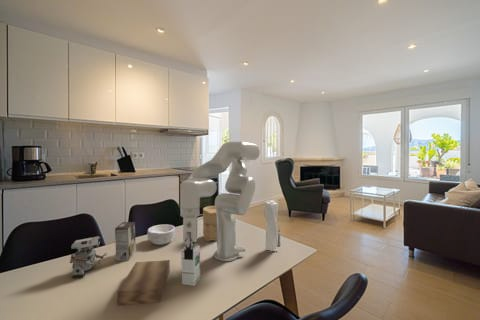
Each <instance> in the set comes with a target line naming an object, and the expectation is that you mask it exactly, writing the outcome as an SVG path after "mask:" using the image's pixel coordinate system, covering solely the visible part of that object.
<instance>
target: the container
mask: <svg viewBox="0 0 480 320" xmlns="http://www.w3.org/2000/svg"><path fill="white" fill-rule="evenodd" d="M202 213H203V214H202V223H203V224H202V227H203V229H202V234H203V239H204V241H206V242H210V241H215V242H217V214H216V208H215V205H207V206H205V207H203V208H202Z"/></svg>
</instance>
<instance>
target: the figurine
mask: <svg viewBox="0 0 480 320" xmlns="http://www.w3.org/2000/svg"><path fill="white" fill-rule="evenodd" d="M100 243H101V237H100V236H98V235H96V236H94V237H93V236H92V237H88V238H83V239H76V240H74V241H73V243H72V244H71V247H70V248H71V250H73V249H76V250H77V251H76V252H74V253H72V254H71V255H70V261H69V263H70V264H72V267H71V269H72V275H71V276H72V277H71V278H72V279H78V278H79V279H82V278H84V277H85V276H86V275H85V271H89V270H91V269H93V267H95V266H96V265H97V264H99V265H100V264H101V260H103V259H104V257H105V256H107V255H108V254H107V252H105V253H104V254H103V255H100V254H96V253H97V251H96V249H95V248H98V247H99V246H100ZM95 259H99V260H98V261H97V262H95ZM100 259H101V260H100Z"/></svg>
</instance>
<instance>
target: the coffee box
mask: <svg viewBox="0 0 480 320" xmlns="http://www.w3.org/2000/svg"><path fill="white" fill-rule="evenodd" d="M114 235H115V236H114V237H115V261H116V262H117V261H122V262H124V261H130V260H131V258H132V257H133V256H134V255H135V254H136V252H137V244H136V221H133V222H131V221H123V222H121V223H120V224H118V226H116V227H115V229H114Z"/></svg>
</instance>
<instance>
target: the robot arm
mask: <svg viewBox="0 0 480 320" xmlns="http://www.w3.org/2000/svg"><path fill="white" fill-rule="evenodd" d="M260 151H261V150H260V147H259V146H258V145H257V144H256V143H251V142H246V141H226V142H224V143H223V144H222V145H221V147H219V148H218V150H217V152H216V153H215V154H214V156H213V157H212V158H211V159H210V160H208V161H206V162H205V163H203V164H201V165H199V166H198V167H196V168H195V169H194V170H193V171H192V172H191V174H190V175H189V176H188V177H187V179H186V180H183V181H182V182H181V183H180V214H179V215H180V217H181V218H183V220H182V222H183V223H182V226H183V227H182V229H183V230H182V232H183V235H182V236H183V238H182V239H183V243H184V247H185V249H184V259H185V260H189V259H193V248H192V245H193V244H196V242H197V239H198V217H199V216H200V214H201V212H200V211H201V210H200V207H201V206H200V205H201V198H202V197H203V198H208V197H212V196H213V195H215V194H216V192H217V189H218V185H217V183H216V181H215V180H213V179H211V178H210V177H212V176H216V175H219V174H222V173H225V172H226V171H227V169H228V168H229V166H230V165H231V169H230V172H229V174H228V177H227V180H226V182H225V185H224V189H225V191H226V192H227V193H225V192H222V193H219V194H217V196H216V197H215V199H214V206H215V208H216V214H217V241H216V250H215V251H214V253H213V257H214V259H216V260H218V261H220V262H232V261H234V260H237V259H238V258H239V257H240V253H245V252H246V247H242V246H237V242H236V241H237V238H236V237H237V232H236V231H237V221H236V217H235V216H245V215H246V214H247V213H248V212H249V209H250V207H251V206H250V205H251V203H252V200H253V198H254V195H255V191H256V181H255V179H254V178H253V177H252V176H247V173H248V168H247V166H246V164H245V163H244V161H246V160H247V161H256V160H257V159H259V157H260Z"/></svg>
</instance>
